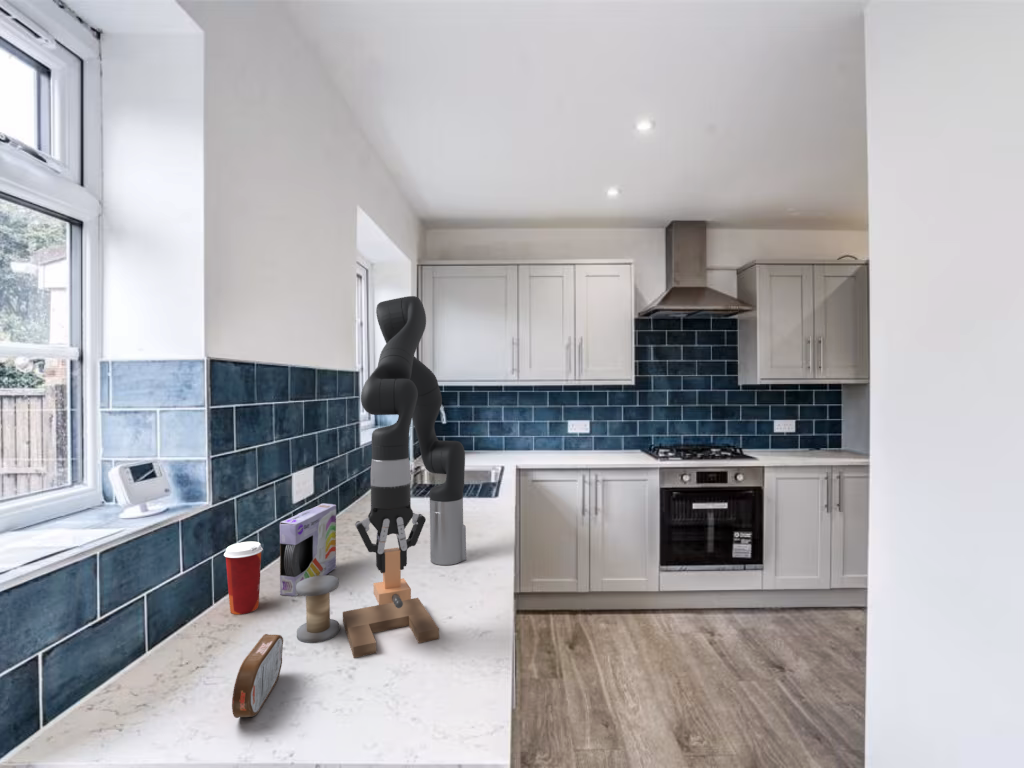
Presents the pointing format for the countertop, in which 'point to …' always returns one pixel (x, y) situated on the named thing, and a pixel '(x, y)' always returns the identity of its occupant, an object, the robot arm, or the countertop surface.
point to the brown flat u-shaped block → (387, 624)
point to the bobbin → (317, 609)
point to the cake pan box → (307, 546)
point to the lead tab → (392, 581)
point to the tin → (257, 676)
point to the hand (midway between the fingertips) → (391, 569)
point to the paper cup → (243, 576)
